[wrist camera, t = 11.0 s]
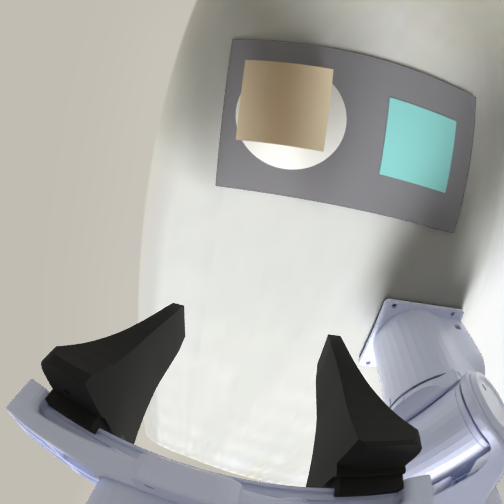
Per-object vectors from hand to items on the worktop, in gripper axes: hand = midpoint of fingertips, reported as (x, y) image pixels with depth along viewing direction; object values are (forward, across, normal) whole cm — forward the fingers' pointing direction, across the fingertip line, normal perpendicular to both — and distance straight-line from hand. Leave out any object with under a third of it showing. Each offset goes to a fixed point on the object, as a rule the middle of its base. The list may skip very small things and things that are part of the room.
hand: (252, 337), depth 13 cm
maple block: (+10, 0, -11) cm, 15 cm away
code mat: (+10, -5, -11) cm, 16 cm away
